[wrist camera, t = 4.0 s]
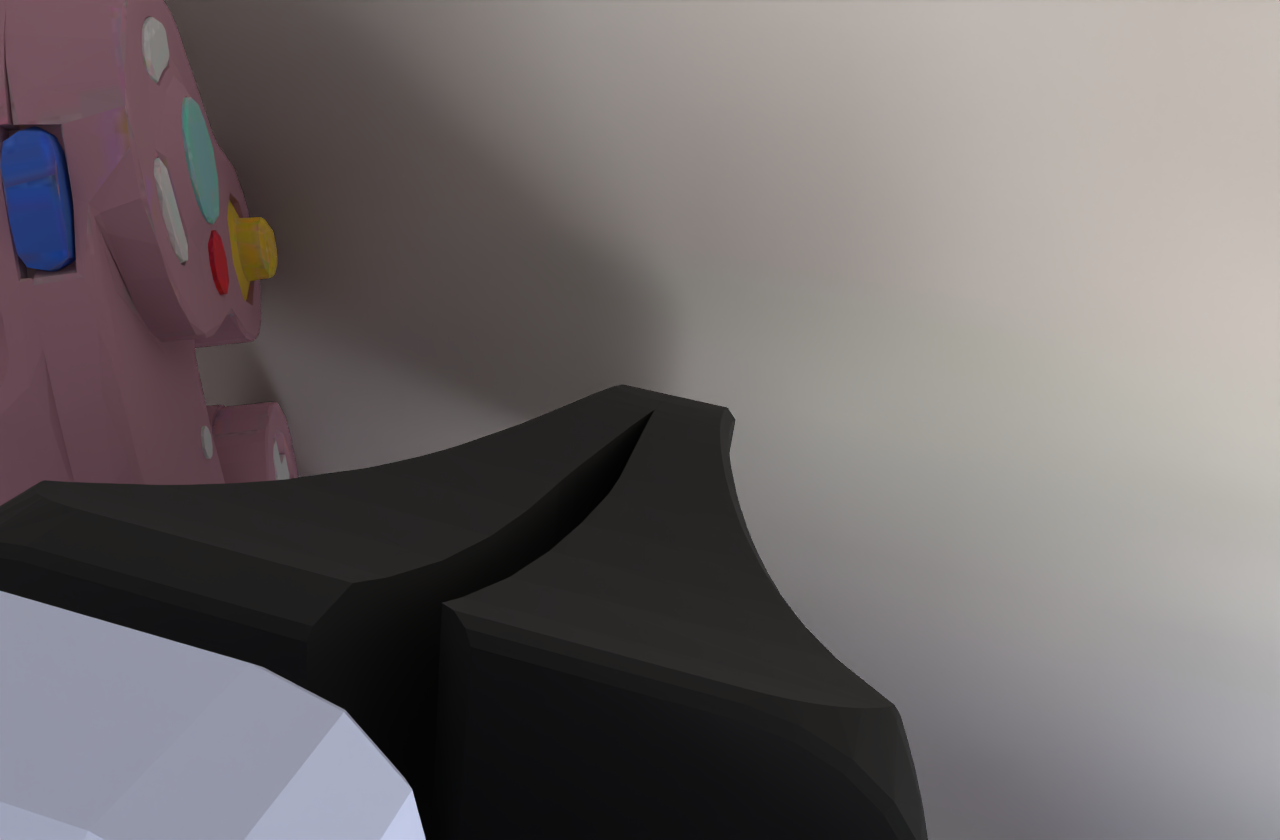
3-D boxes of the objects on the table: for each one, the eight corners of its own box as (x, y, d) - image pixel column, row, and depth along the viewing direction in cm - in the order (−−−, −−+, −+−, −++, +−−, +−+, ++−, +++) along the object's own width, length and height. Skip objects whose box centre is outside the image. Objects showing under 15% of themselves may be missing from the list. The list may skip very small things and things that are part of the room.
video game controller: (386, 591, 18) (379, 931, 11) (96, 635, 17) (-83, 1026, 11) (275, -55, 14) (172, -79, 8) (-108, -35, 13) (-580, -43, 7)
